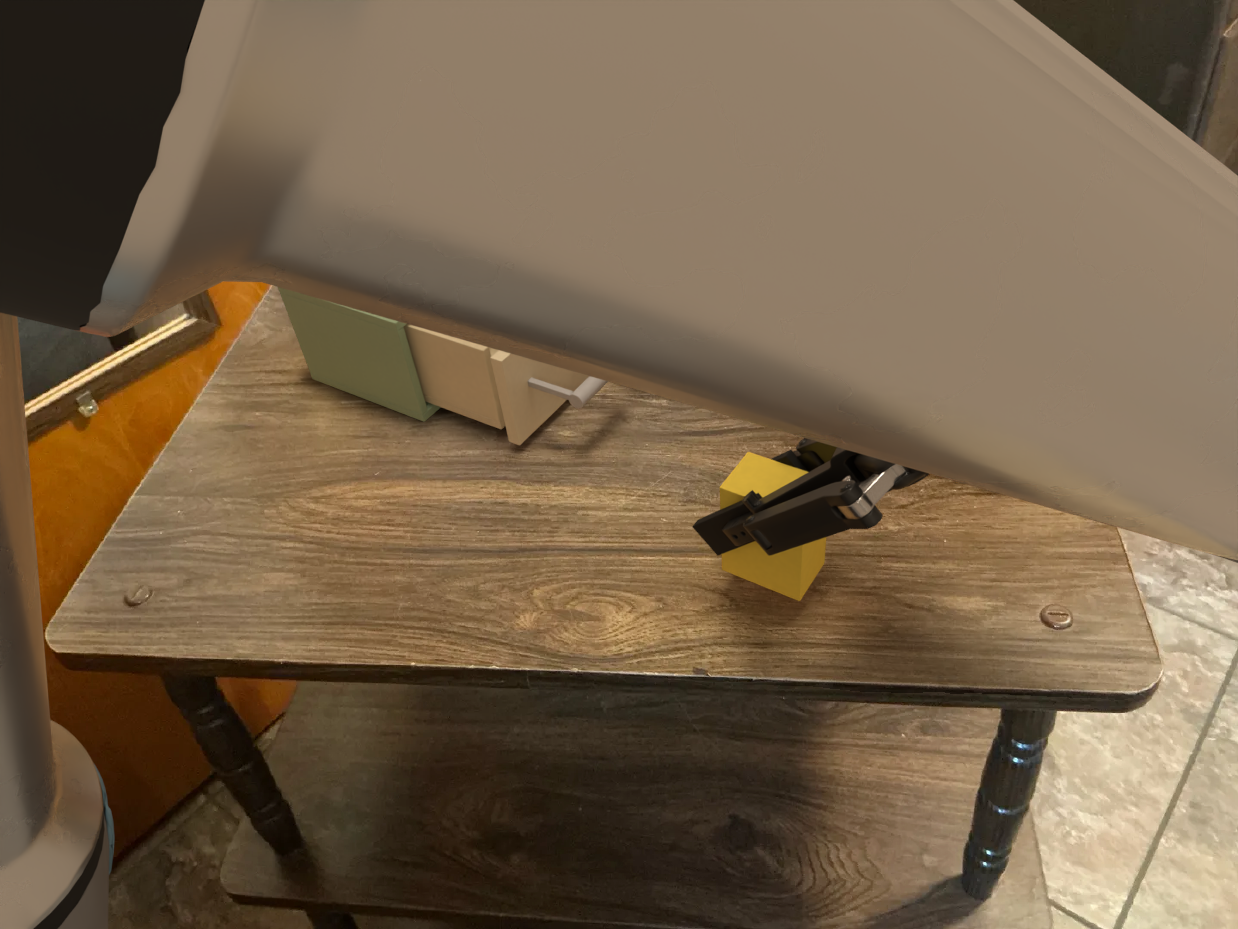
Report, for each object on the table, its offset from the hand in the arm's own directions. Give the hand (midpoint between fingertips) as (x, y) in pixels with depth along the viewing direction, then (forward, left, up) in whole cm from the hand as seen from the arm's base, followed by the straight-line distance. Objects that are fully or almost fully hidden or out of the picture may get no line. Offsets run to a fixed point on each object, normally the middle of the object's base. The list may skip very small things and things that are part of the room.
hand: (724, 516), depth 68 cm
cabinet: (+2, +40, -5) cm, 41 cm away
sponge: (+1, -4, -3) cm, 5 cm away
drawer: (+4, +26, -4) cm, 27 cm away
